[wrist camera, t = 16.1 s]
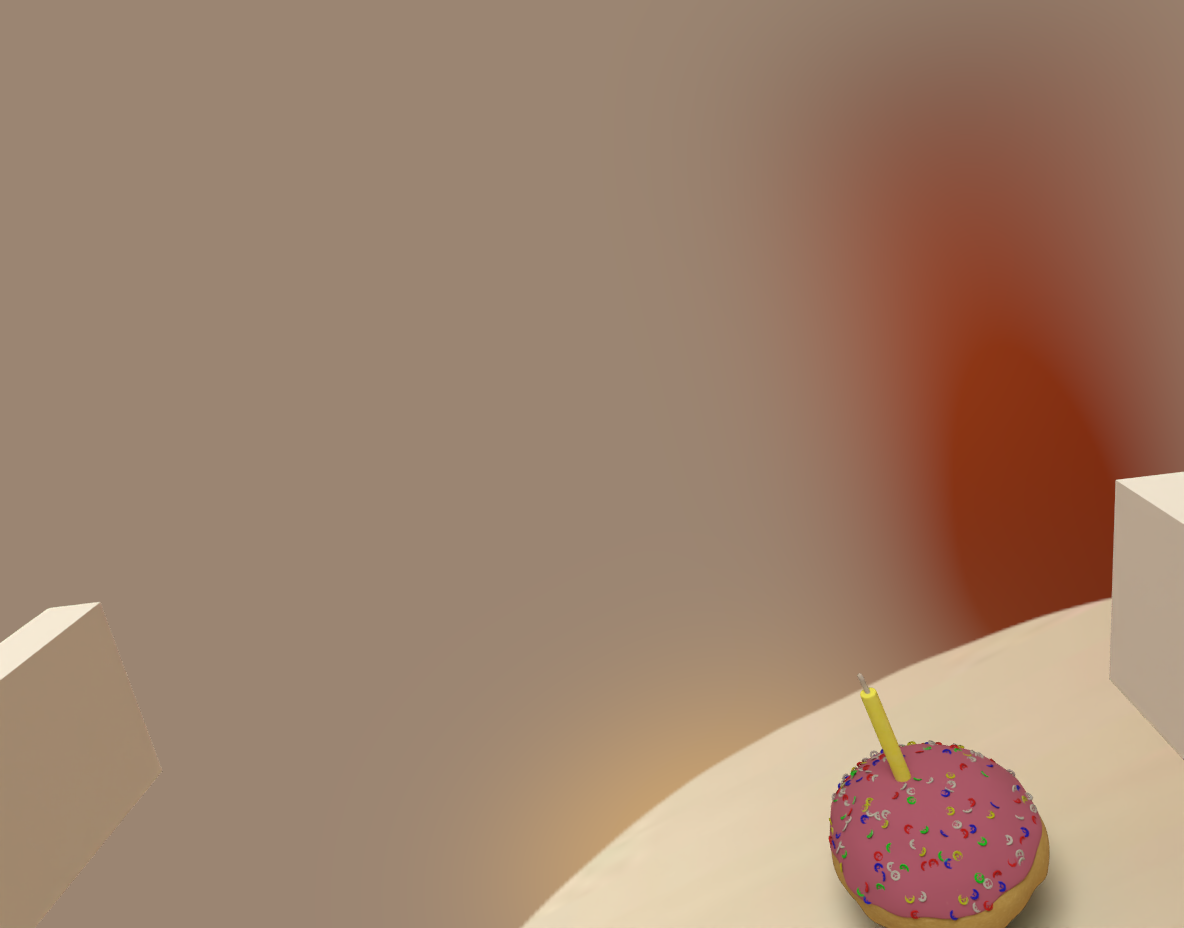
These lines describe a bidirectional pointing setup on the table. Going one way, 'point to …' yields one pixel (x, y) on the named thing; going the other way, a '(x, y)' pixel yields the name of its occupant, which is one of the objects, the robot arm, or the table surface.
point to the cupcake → (935, 834)
